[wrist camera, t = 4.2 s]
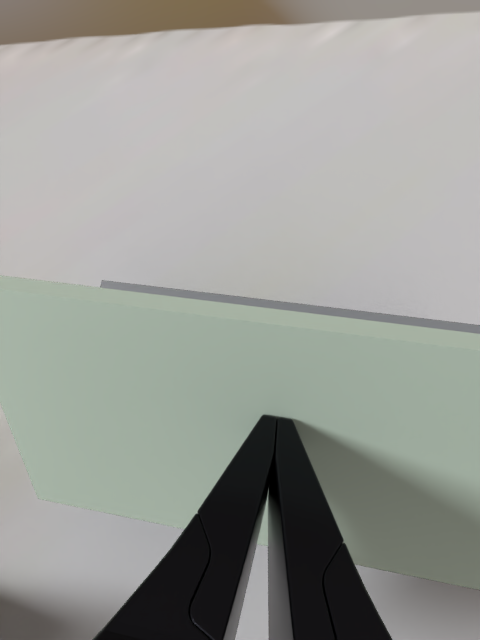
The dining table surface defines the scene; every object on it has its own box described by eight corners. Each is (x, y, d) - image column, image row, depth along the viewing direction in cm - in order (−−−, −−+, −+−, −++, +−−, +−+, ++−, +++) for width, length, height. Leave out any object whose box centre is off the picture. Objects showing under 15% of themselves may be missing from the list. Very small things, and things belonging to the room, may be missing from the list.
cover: (506, 571, 12) (519, 598, 11) (51, 480, 14) (38, 498, 13) (691, 359, 7) (733, 383, 7) (-22, 272, 9) (-47, 283, 9)
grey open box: (438, 519, 17) (507, 568, 12) (107, 457, 19) (51, 478, 14) (441, 346, 19) (501, 327, 14) (140, 307, 21) (101, 280, 16)
